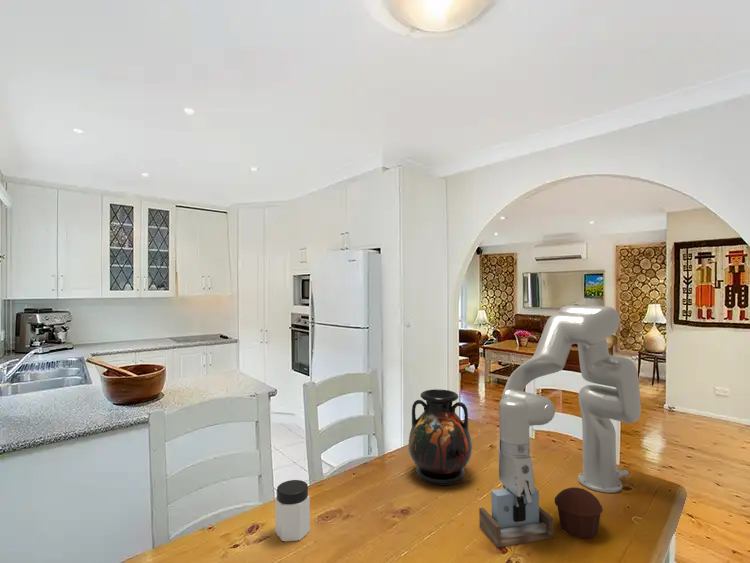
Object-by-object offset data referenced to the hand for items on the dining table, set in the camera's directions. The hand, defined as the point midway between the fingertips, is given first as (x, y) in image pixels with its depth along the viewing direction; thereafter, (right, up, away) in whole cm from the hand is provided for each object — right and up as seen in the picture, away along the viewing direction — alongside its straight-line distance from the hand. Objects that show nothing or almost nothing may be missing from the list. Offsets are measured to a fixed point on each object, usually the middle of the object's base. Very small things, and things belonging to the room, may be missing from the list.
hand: (515, 516), depth 107 cm
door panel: (0, -2, 0) cm, 2 cm away
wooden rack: (0, -4, 0) cm, 4 cm away
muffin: (+17, -4, +1) cm, 18 cm away
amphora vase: (-15, -5, +32) cm, 36 cm away
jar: (-59, -5, +1) cm, 59 cm away
